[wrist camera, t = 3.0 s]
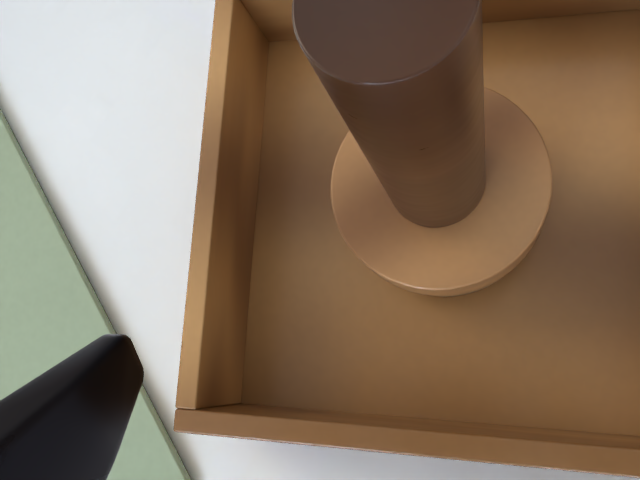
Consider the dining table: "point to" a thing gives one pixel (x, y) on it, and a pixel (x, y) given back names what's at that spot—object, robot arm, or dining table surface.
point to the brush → (425, 144)
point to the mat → (59, 311)
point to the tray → (401, 305)
